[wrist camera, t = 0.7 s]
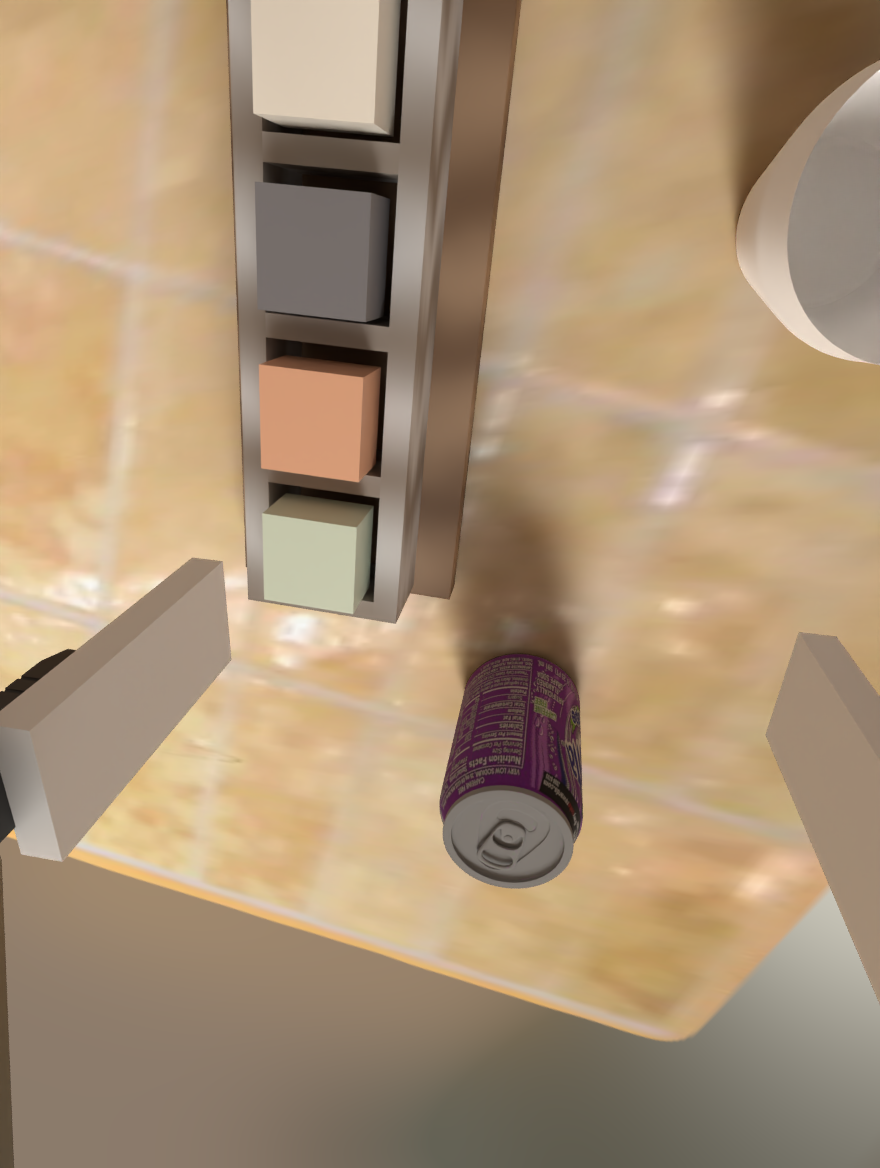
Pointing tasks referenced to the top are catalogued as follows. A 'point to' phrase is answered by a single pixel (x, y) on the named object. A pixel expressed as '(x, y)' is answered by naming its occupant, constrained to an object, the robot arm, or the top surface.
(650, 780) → the top surface
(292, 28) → the key ivory
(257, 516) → the slotted block tray
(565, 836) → the beverage can
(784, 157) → the cup
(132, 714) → the robot arm
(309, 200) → the key charcoal
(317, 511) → the key sage
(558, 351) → the top surface
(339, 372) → the key terracotta
